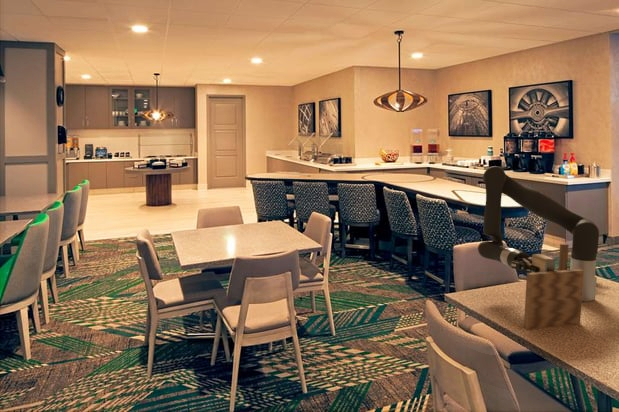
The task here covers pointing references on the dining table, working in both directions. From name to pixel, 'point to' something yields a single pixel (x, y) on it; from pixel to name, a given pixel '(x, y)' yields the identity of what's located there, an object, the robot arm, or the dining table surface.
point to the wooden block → (563, 257)
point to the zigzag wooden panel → (553, 298)
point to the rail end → (543, 262)
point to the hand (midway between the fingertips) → (543, 270)
